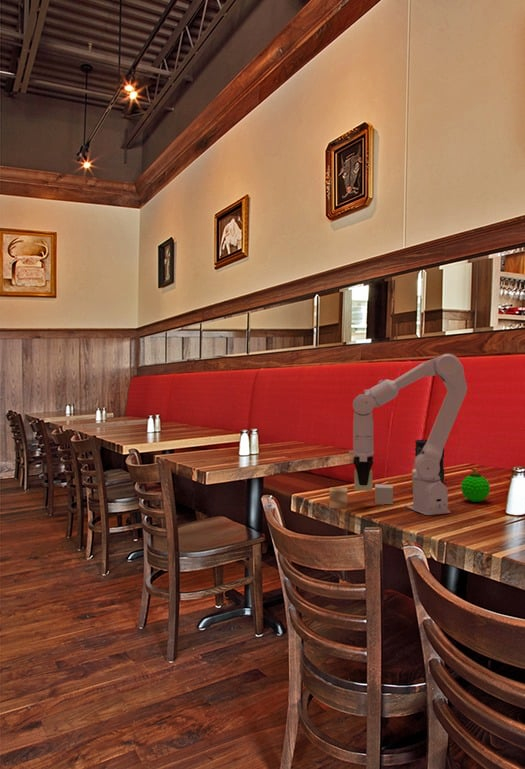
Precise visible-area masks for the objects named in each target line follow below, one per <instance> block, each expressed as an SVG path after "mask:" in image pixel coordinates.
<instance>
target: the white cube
mask: <svg viewBox="0 0 525 769" xmlns="http://www.w3.org/2000/svg"><path fill="white" fill-rule="evenodd" d="M374 502H375V503H374V504H375V505H384V504H393V505H394V486H393V485H392V484H379V483H375V485H374Z"/></svg>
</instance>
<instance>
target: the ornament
mask: <svg viewBox="0 0 525 769" xmlns="http://www.w3.org/2000/svg"><path fill="white" fill-rule="evenodd" d="M478 471H479V470H478V468H477V467H473V468H472V473H471V474H469V475H467V476H466V477H465V478H463V480H462V481H461V484H460V488H461V493H462V494H463V496H464V498H466V499H467V500H468V501H471V502H473V503H480V502H482V501H484V500H486V499H487V497H488V496H489V495H490V493H491V490H490V489H491V487H490V483H489V482H488V479H486V478H485V477H484V476H482V474H479V473H478Z"/></svg>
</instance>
